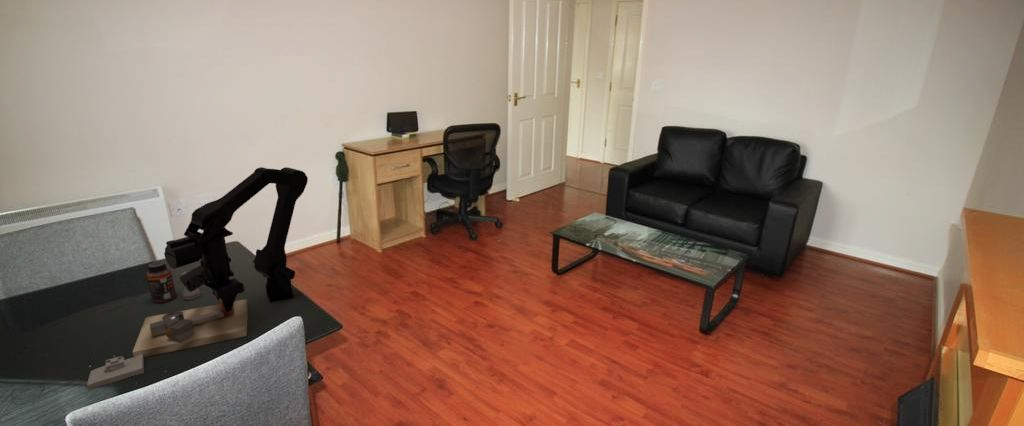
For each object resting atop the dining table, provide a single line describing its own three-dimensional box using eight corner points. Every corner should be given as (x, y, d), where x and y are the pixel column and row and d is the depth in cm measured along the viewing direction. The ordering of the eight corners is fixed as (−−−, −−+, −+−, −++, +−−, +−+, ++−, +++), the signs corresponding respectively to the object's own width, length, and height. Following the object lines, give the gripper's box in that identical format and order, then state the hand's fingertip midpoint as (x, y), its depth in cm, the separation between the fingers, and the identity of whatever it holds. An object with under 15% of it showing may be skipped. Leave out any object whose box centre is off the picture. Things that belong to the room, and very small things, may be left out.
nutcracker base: (247, 305, 142) (244, 286, 140) (246, 336, 128) (242, 316, 126) (147, 323, 132) (142, 304, 130) (134, 359, 118) (127, 338, 116)
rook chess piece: (192, 301, 144) (186, 277, 141) (179, 299, 144) (173, 275, 142) (204, 294, 148) (199, 270, 145) (191, 292, 149) (186, 268, 146)
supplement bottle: (175, 301, 144) (167, 266, 140) (151, 305, 141) (141, 269, 137) (178, 292, 149) (170, 258, 145) (154, 296, 146) (145, 261, 142)
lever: (152, 338, 122) (146, 313, 119) (151, 330, 125) (145, 306, 123) (236, 315, 132) (231, 292, 130) (233, 308, 136) (228, 286, 133)
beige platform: (141, 350, 122) (137, 337, 120) (156, 369, 115) (153, 356, 114) (79, 374, 113) (74, 360, 112) (92, 396, 106) (87, 382, 105)
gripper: (169, 253, 129) (181, 306, 134) (189, 275, 117) (202, 332, 121) (216, 242, 136) (226, 292, 141) (240, 262, 124) (250, 316, 129)
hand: (225, 308), depth 133 cm, fingers open, 5 cm apart
